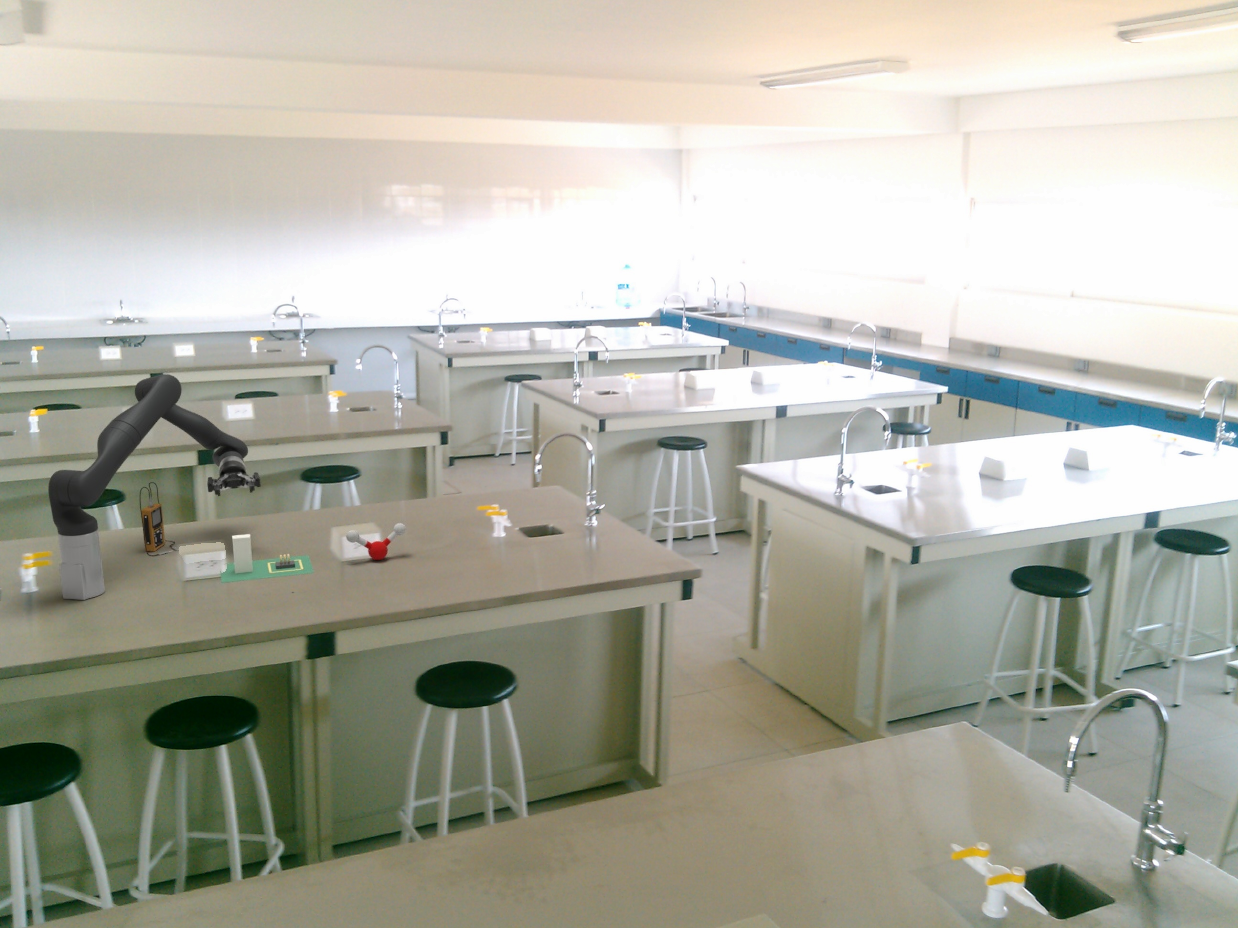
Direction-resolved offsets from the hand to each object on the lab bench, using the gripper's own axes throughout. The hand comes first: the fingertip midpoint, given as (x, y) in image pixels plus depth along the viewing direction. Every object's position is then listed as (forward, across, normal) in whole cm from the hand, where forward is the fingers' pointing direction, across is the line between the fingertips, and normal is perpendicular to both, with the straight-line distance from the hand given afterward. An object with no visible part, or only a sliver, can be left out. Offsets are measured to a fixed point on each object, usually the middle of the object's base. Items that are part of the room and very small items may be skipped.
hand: (235, 491), depth 282 cm
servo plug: (+13, 0, +19) cm, 23 cm away
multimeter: (-19, -20, +23) cm, 36 cm away
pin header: (+13, +11, +19) cm, 26 cm away
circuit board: (+14, +6, +20) cm, 25 cm away
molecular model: (+12, +37, +22) cm, 44 cm away
